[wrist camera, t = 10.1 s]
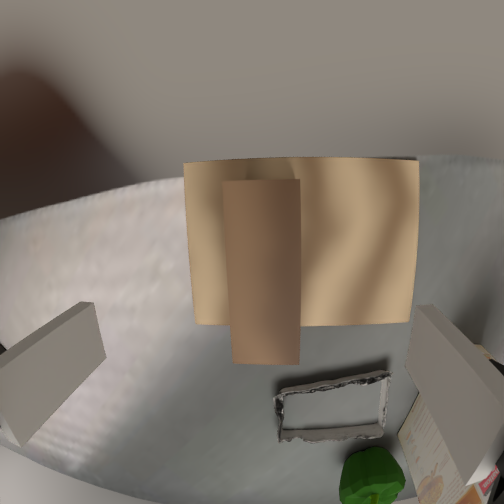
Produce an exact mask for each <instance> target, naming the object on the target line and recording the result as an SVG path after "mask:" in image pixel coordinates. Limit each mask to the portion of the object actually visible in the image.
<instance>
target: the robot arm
mask: <svg viewBox="0 0 504 504" xmlns="http://www.w3.org/2000/svg"><path fill="white" fill-rule="evenodd" d="M105 359H106V354H105V350H104V346H103V342H102V338H101V334H100V330H99V325H98V321H97V316H96V311H95V306H94V303H91V302H79V303H78V304H76V305H74V306H73V307H71V308H70V309H68V310H67V311H65V312H64V313H62V314H61V315H59V316H57V317H56V318H54V319H53V320H51V321H50V322H48V323H47V324H45V325H44V326H42V327H41V328H39V329H38V330H36V331H35V332H33V333H32V334H30V335H29V336H27V337H26V338H24V339H23V340H21V341H20V342H18V343H17V344H15V345H14V346H13V347H11V348H10V349H8V350H7V351H6V350H5V349H4V348H3V347H2V346H1V345H0V427H1V429H2V431H3V433H4V434H5V436H6V438H7V439H8V440H9V441H10V442H12V443H14V444H16V445H17V446H19V447H21V448H22V447H23V446H24V445H25V443H26V442H27V441H28V440H29V439H30V438H31V437H32V436H33V435H34V434H35V432H36V431H37V430H38V429H39V428H40V427H41V426H42V425H43V424H44V423H45V422H46V421H47V420H48V418H49V417H50V416H51V415H52V414H53V413H54V412H55V411H56V410H57V409H58V408H59V407H60V406H61V405H62V404H63V402H64V401H65V400H66V399H67V398H68V397H69V396H70V395H71V394H72V393H73V392H74V391H75V390H76V389H77V388H78V387H79V386H80V385H81V384H82V382H83V381H84V380H85V379H86V378H87V377H88V376H89V375H90V374H91V373H92V372H93V371H94V370H95V369H96V368H97V367H98V366H99V365H100V364H101V363H102V362H103V361H104V360H105ZM405 367H406V369H407V371H408V372H409V374H410V376H411V378H412V380H413V382H414V383H415V385H416V387H417V389H418V391H419V393H420V395H421V396H422V398H423V400H424V402H425V404H426V406H427V408H428V410H429V412H430V414H431V416H432V418H433V419H434V421H435V423H436V425H437V427H438V429H439V431H440V433H441V435H442V438H443V440H444V442H445V444H446V446H447V448H448V450H449V452H450V454H451V456H452V458H453V461H454V463H455V465H456V467H457V469H458V472H459V474H460V476H461V478H462V481H463V483H464V485H465V486H467V485H470V484H473V483H475V482H478V481H481V480H483V479H486V478H487V476H488V475H489V474H490V472H491V471H492V469H493V468H494V466H495V465H496V466H497V468H498V470H499V472H500V473H499V474H498V475H497V477H496V478H495V480H494V481H493V482H492V484H491V485H490V486H489V488H488V489H487V490H486V492H485V494H484V495H483V496H487V495H488V493H489V492H490V491H491V493H490V496H489V499H488V501H487V504H504V365H502V364H500V363H498V362H497V361H495V360H493V359H487V358H486V357H485V356H484V355H483V354H482V352H481V351H480V350H479V349H478V348H477V347H476V346H475V345H474V344H473V343H472V342H471V341H470V340H469V339H468V338H467V337H466V336H465V335H464V334H463V333H462V332H461V331H460V330H459V329H458V328H457V327H456V326H455V325H454V324H453V323H452V322H451V321H450V320H449V319H448V318H447V317H445V316H444V315H443V314H442V313H441V312H440V311H439V310H438V309H437V308H436V307H435V306H434V305H433V304H430V305H416V308H415V315H414V321H413V327H412V333H411V338H410V344H409V349H408V354H407V359H406V363H405Z"/></svg>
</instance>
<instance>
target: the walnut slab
mask: <svg viewBox="0 0 504 504" xmlns="http://www.w3.org/2000/svg"><path fill="white" fill-rule="evenodd" d="M222 189H223V211H224V232H225V251H226V269H227V285H228V301H229V316H230V331H231V345H232V358H233V363H236V364H268V365H299V356H300V323H301V191H300V179H270V180H241V181H222Z"/></svg>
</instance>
